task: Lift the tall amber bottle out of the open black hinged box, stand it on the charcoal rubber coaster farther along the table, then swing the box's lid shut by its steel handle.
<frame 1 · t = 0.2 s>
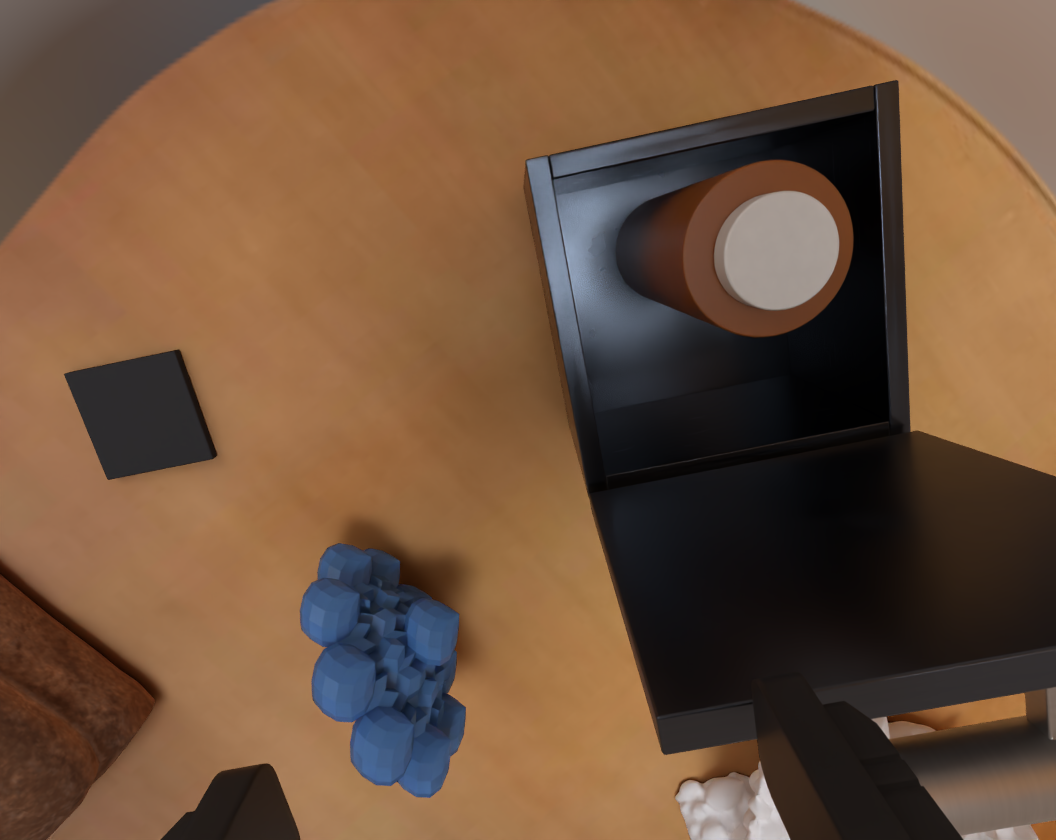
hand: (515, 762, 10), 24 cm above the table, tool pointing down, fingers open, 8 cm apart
grapes: (422, 583, 36), on the table
cauliflower: (819, 774, 41), on the table
lid: (844, 616, 18), point 17 cm above the table, hinge at 85.0°
amber bottle: (666, 249, 31), point 1 cm above the table, touching black hinged box
coaster: (145, 414, 33), on the table
black hinged box: (668, 288, 32), on the table
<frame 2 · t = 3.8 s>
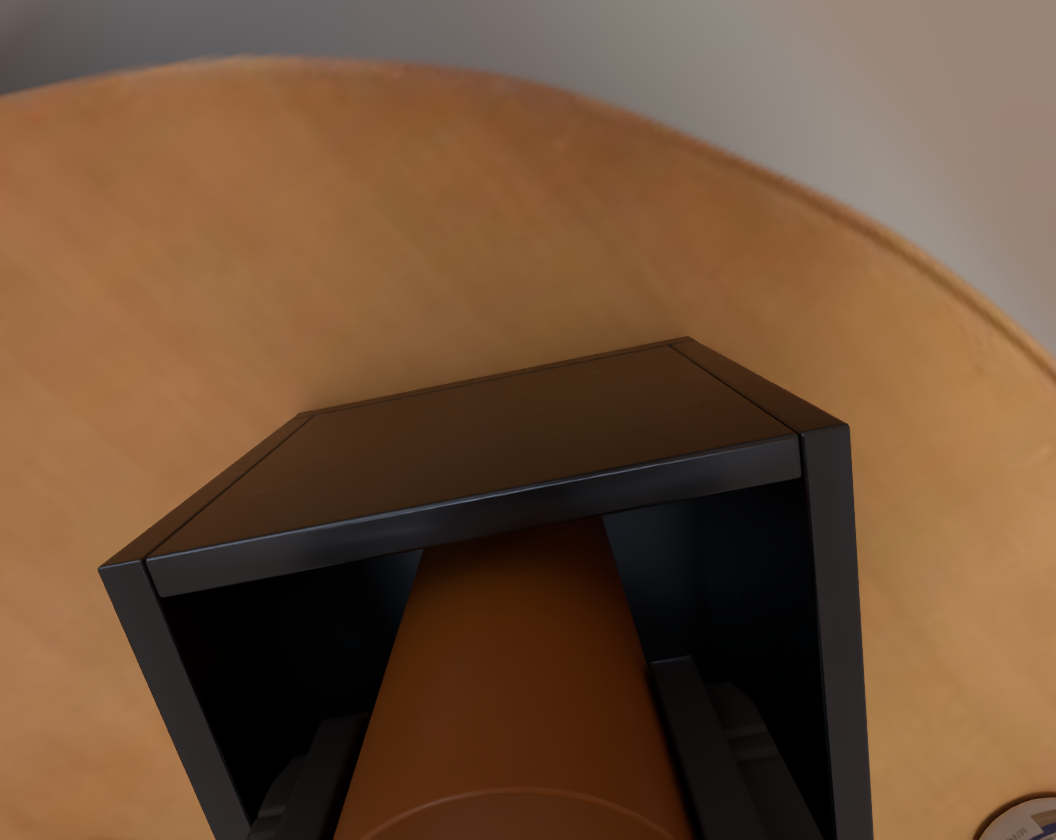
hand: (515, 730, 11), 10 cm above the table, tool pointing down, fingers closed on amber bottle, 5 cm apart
amber bottle: (517, 508, 20), point 1 cm above the table, touching gripper, black hinged box
black hinged box: (529, 551, 21), on the table
pill bottle: (1031, 839, 25), on the table
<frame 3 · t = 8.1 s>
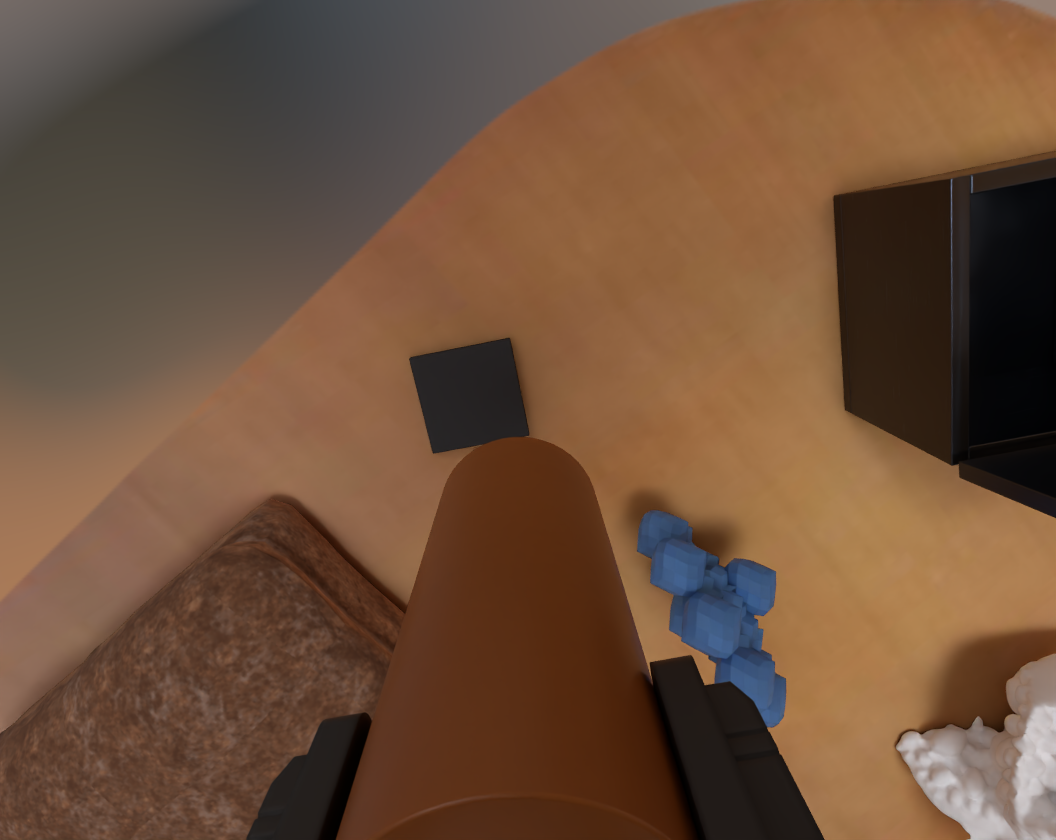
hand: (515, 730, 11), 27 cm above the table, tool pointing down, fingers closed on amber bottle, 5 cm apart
grapes: (692, 549, 41), on the table
bread: (227, 689, 43), on the table
cauliflower: (1025, 727, 45), on the table
amber bottle: (518, 510, 20), point 18 cm above the table, touching gripper
coaster: (470, 395, 37), on the table
black hinged box: (948, 286, 36), on the table
when the fingers open (10 cm above the table, at t = 12.5 s): amber bottle stays where it is, resting on coaster.
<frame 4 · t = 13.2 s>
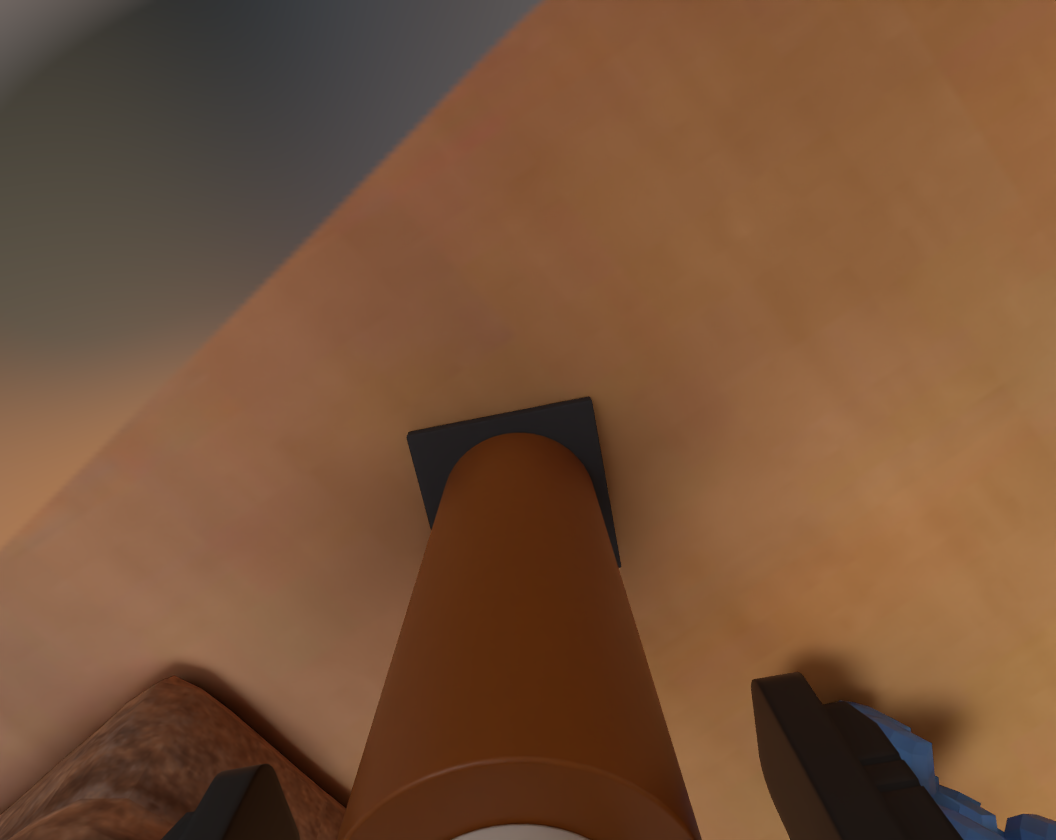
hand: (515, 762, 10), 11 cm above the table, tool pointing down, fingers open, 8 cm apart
grapes: (887, 742, 24), on the table
amber bottle: (519, 504, 20), resting on coaster
coaster: (517, 498, 21), on the table
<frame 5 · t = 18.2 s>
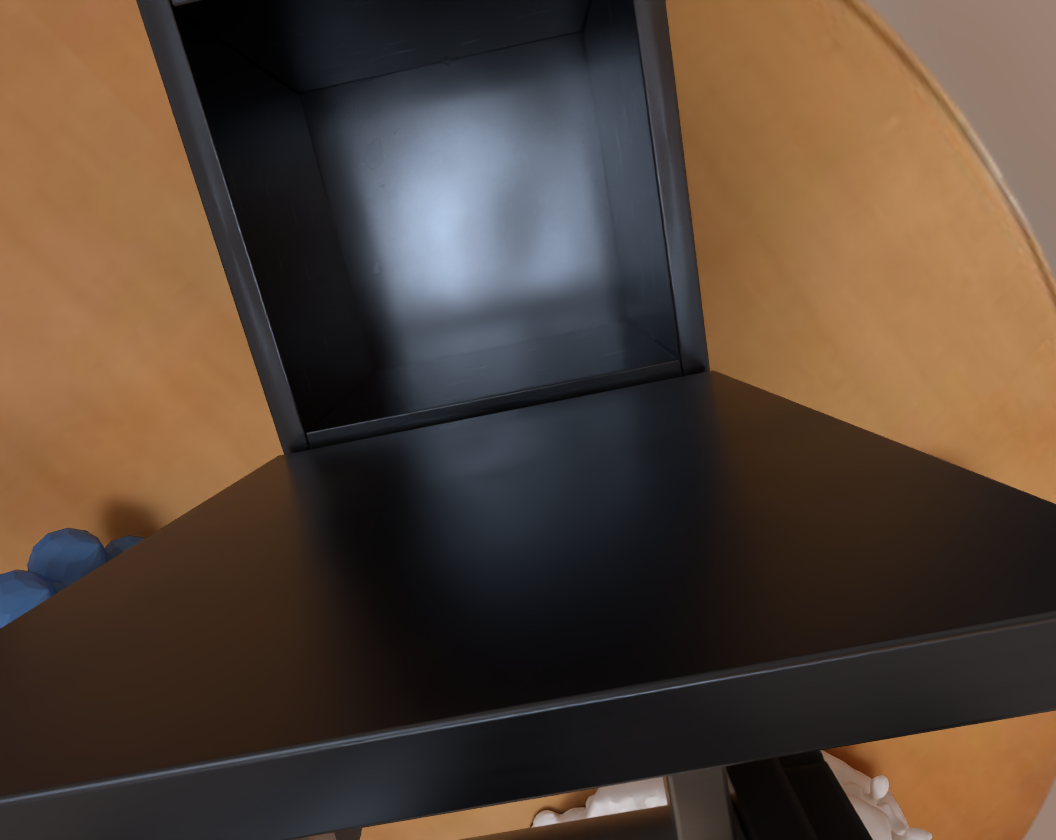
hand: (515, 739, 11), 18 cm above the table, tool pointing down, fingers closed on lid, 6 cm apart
grapes: (207, 578, 30), on the table
cauliflower: (699, 804, 35), on the table
lid: (503, 626, 12), point 17 cm above the table, hinge at 85.0°, touching gripper
black hinged box: (472, 213, 26), on the table
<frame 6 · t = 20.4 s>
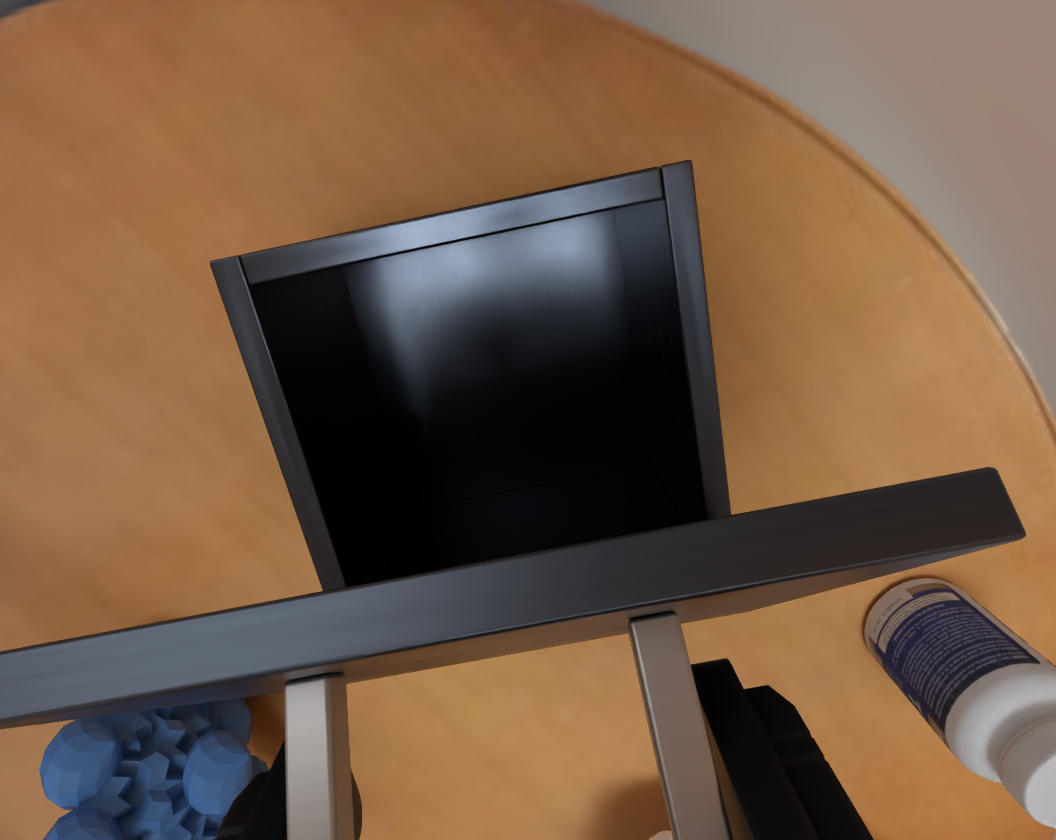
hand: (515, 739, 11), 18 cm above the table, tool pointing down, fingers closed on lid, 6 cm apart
grapes: (248, 687, 32), on the table
lid: (533, 760, 12), point 17 cm above the table, hinge at 51.4°, touching gripper
black hinged box: (504, 365, 27), on the table
pill bottle: (911, 618, 31), on the table
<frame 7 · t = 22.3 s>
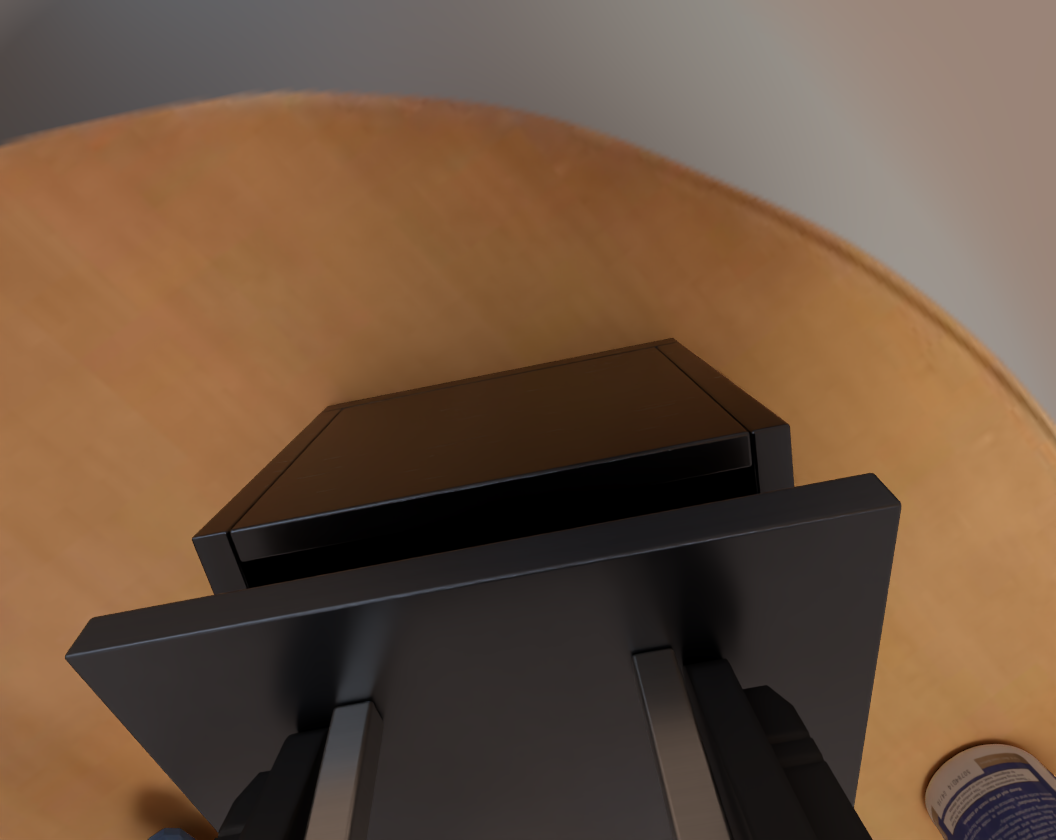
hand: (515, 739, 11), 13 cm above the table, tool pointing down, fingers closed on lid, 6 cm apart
black hinged box: (532, 528, 24), on the table
pill bottle: (976, 781, 28), on the table
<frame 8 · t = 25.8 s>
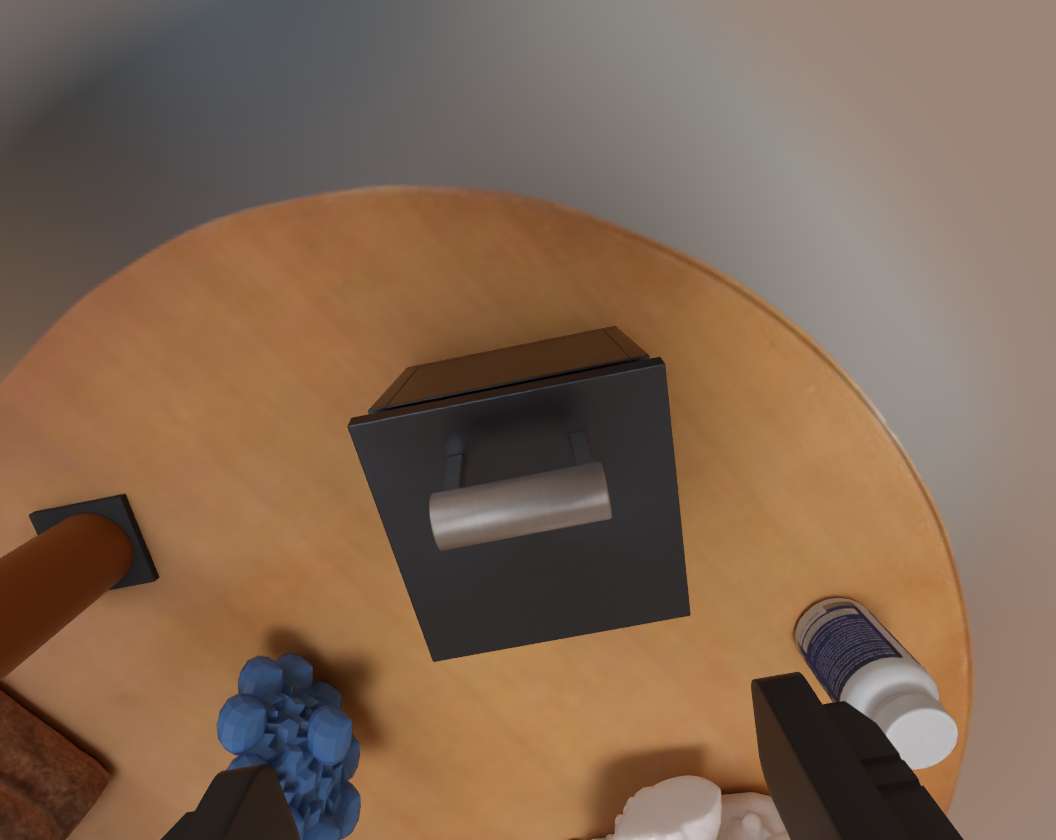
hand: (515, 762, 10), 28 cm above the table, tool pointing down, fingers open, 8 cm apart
grapes: (336, 678, 43), on the table
cauliflower: (686, 835, 47), on the table
lid: (538, 561, 25), point 14 cm above the table, hinge at 10.4°
amber bottle: (93, 549, 39), resting on coaster
coaster: (97, 545, 40), on the table
black hinged box: (531, 446, 38), on the table
pill bottle: (830, 628, 42), on the table
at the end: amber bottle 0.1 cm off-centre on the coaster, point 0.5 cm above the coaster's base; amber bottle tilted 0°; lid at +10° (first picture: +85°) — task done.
